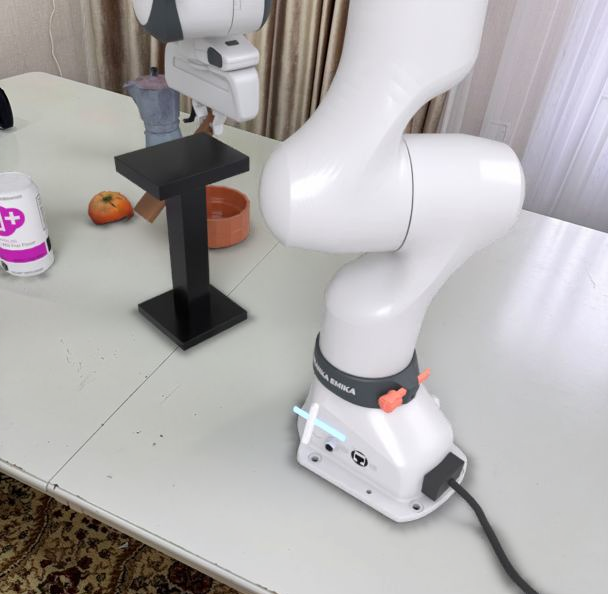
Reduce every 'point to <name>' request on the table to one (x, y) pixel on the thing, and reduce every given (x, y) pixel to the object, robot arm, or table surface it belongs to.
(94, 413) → the table surface
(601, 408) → the table surface
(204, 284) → the black plant stand
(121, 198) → the tomato
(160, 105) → the moka pot
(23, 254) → the supplement can
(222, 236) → the bowl
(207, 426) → the table surface
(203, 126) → the wooden spatula
